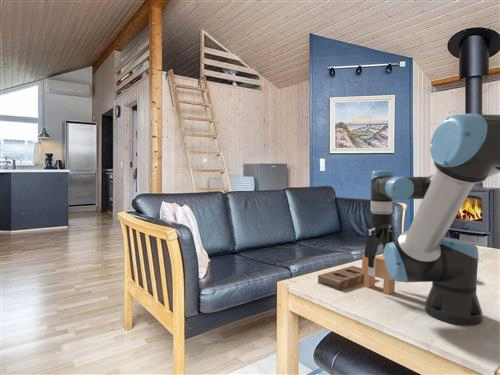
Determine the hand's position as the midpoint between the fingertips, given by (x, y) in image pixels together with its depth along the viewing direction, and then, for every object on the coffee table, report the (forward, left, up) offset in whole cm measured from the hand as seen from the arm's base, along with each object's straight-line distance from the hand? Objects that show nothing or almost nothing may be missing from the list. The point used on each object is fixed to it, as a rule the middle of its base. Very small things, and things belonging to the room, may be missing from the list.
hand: (379, 273), depth 126 cm
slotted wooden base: (+5, +12, -6) cm, 15 cm away
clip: (0, 0, -6) cm, 6 cm away
